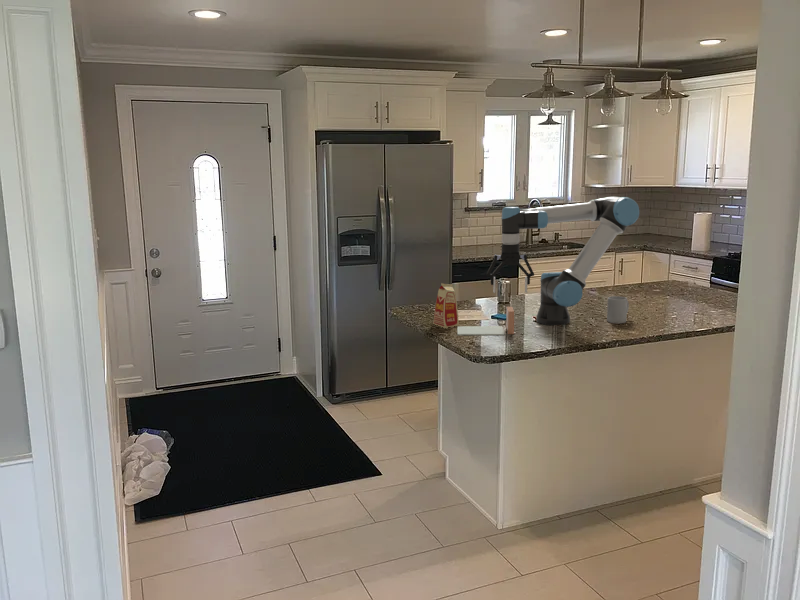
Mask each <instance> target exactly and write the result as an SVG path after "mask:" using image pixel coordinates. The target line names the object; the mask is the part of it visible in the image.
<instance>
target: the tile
mask: <svg viewBox="0 0 800 600" xmlns="http://www.w3.org/2000/svg"><path fill="white" fill-rule="evenodd" d="M505 325H506V327H505V328H506V332H507V335H514V334H515V310H514V308H513V306H506V324H505Z"/></svg>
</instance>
